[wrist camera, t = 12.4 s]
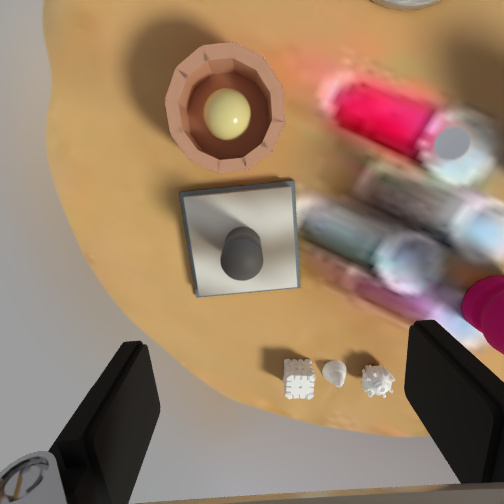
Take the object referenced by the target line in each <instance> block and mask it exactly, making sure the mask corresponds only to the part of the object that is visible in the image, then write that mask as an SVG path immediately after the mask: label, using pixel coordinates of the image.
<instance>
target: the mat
mask: <svg viewBox="0 0 504 504" xmlns="http://www.w3.org/2000/svg"><path fill="white" fill-rule="evenodd" d="M285 186H291V190H292V207H293V223H294V240H295V257H296V273H297V287H292V288H300V270H299V253H298V235H297V218H296V200H295V182H294V180H293V181H283V182H273V183H263V184H253V185H243V186H234V187H224V188H214V189H204V190H194V191H184V192H179V195H180V201H181V207H182V213H183V219H184V225H185V231H186V237H187V243H188V249H189V255H190V262H191V268H192V274H193V280H194V286H195V292H196V298H197V297H207V296H199V291H198V285H197V279H196V273H195V266H194V260H193V254H192V248H191V242H190V236H189V229H188V223H187V217H186V211H185V205H184V197H186V196H196V195H206V194H216V193H226V192H235V191H245V190H255V189H265V188H275V187H285ZM292 288H282V289H292ZM271 290H281V289H271ZM261 291H270V290H261ZM250 292H260V291H250ZM240 293H249V292H240ZM229 294H239V293H229ZM219 295H228V294H219ZM208 296H218V295H208Z"/></svg>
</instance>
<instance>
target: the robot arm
mask: <svg viewBox="0 0 504 504" xmlns="http://www.w3.org/2000/svg"><path fill="white" fill-rule="evenodd" d="M372 1H373V2H374V3H377V4H379V5H381V6H384V7H386V8H389V9H395V10H401V11H405V10H418V9H421V8H425V7H428V6H431V5H433V4H435V3H437V2H439V1H441V0H372ZM404 390H405V395H406V397H407V399H408V401H409V402H410V404H411V406H412V407H413V409H414V410H415V412H416V413H417V415H418V417H419V418H420V420H421V421H422V423H423V424H424V426H425V428H426V429H427V431H428V432H429V434H430V435H431V437H432V439H433V440H434V442H435V443H436V445H437V446H438V448H439V449H440V451H441V453H442V454H443V456H444V457H445V459H446V460H447V462H448V464H449V465H450V467H451V468H452V470H453V472H454V473H455V475H456V476H457V478H458V479H459V481H460V483H461V484H443V485H426V486H425V485H424V486H405V487H386V488H369V489H350V490H333V491H316V492H299V493H283V494H267V495H250V496H235V497H221V498H220V497H219V498H204V499H189V500H174V501H161V502H149V503H138V504H504V382H503V381H502V380H500V379H499V378H498V377H497V376H496V375H495V374H494V373H493V372H492V371H491V370H489V369H488V368H487V367H486V366H485V365H484V364H483V363H482V362H481V361H479V360H478V359H477V358H476V357H475V356H474V355H473V354H472V353H471V352H470V351H468V350H467V349H466V348H465V347H464V346H463V345H462V344H461V343H460V342H458V341H457V340H456V339H455V338H454V337H453V336H452V335H451V334H450V333H449V332H447V331H446V330H445V329H444V328H443V327H442V326H441V325H440V324H439V323H437V322H436V321H435V320H421V321H416V322H415V323H414V325H412V326H410V329H409V338H408V350H407V361H406V373H405V384H404ZM159 414H160V402H159V397H158V392H157V388H156V383H155V378H154V374H153V369H152V364H151V360H150V355H149V350H148V347H147V345H143V343H142V342H141V341H129V342H124V343H123V344H122V345H121V346H120V348H119V349H118V351H117V352H116V354H115V355H114V357H113V358H112V360H111V361H110V362H109V364H108V366H107V367H106V369H105V370H104V371H103V373H102V374H101V376H100V377H99V379H98V380H97V382H96V383H95V384H94V386H93V387H92V388H91V389H90V391H89V392H88V394H87V395H86V397H85V398H84V400H83V401H82V402H81V404H80V405H79V407H78V408H77V410H76V411H75V413H74V414H73V416H72V417H71V419H70V420H69V422H68V423H67V424H66V426H65V427H64V429H63V430H62V432H61V433H60V435H59V436H58V438H57V439H56V441H55V442H54V443H53V445H52V446H51V448H50V449H49V451H38V452H34V453H30V454H28V455H25V456H23V457H21V458H19V459H18V460H16V461H15V462H13V463H11V464H10V465H8V466H7V467H6V468H5V469H4V470H2V471H1V472H0V504H128V502H129V500H130V496H131V494H132V491H133V488H134V486H135V483H136V480H137V477H138V474H139V471H140V469H141V466H142V463H143V460H144V457H145V454H146V451H147V449H148V446H149V443H150V440H151V437H152V434H153V432H154V429H155V426H156V423H157V420H158V417H159Z"/></svg>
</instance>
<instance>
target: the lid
mask: <svg viewBox="0 0 504 504" xmlns="http://www.w3.org/2000/svg"><path fill="white" fill-rule="evenodd" d="M184 205H185V211H186V217H187V223H188V229H189V236H190V242H191V248H192V254H193V260H194V266H195V273H196V279H197V285H198V291H199V296H208V295H219V294H229V293H240V292H250V291H261V290H271V289H282V288H292V287H297V273H296V257H295V240H294V223H293V207H292V190H291V186H285V187H275V188H265V189H255V190H245V191H235V192H226V193H216V194H206V195H196V196H186V197H184Z"/></svg>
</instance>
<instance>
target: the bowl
mask: <svg viewBox="0 0 504 504" xmlns="http://www.w3.org/2000/svg"><path fill="white" fill-rule="evenodd" d="M202 47H203V48H202ZM202 47H201V46H200V47H199V48H198V49H197V50H195V51H194V52H193V53H192V54H191V55H190V56H188V57H187V58H186V59H185V60H184V61H183V62H181V63H180V64H179V65H178V66H177V69H176V68H175V71H174V74H173V77H172V80H171V83H170V86H169V88H168V91H167V94H166V97H165V100H166V101H165V106H166V112H167V118H168V124H169V130H170V134H171V136H172V137H173V139H174V140H175V141H176V143H177V144H178V145H179V147H180V148H181V149H182V151H183V152H184V153H185V155H186V156H187V157H188V159H189V160H190V161H192V162H194V163H196V164H198V165H201V166H203V167H205V168H207V169H209V170H212V171H214V172H216V173H226V172H236V171H246V170H247V169H248V170H249V169H250V168H251V167H253V166H254V165H255V164H257V163H258V162H259V161H261V160H262V159H263V158H265V157H266V156H267V155H269V154H270V153H271V152H272V151H273V149H274V147H275V144H276V142H277V140H278V138H279V136H280V133H281V131H282V129H283V127H284V124H285V105H284V89H283V86H282V84H281V83H280V81H279V80H278V78H277V76H276V75H275V73H274V71H273V70H272V68H271V67H270V65H269V63H268V62H267V60H266V58H265V59H264V57H263V56H261V55H259V54H257V53H255V52H253V51H251V50H250V49H248V48H246V47H244V46H242V45H240V44H238V43H236V42H235V45H234V42H228V43H219V44H209V45H202Z"/></svg>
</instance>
